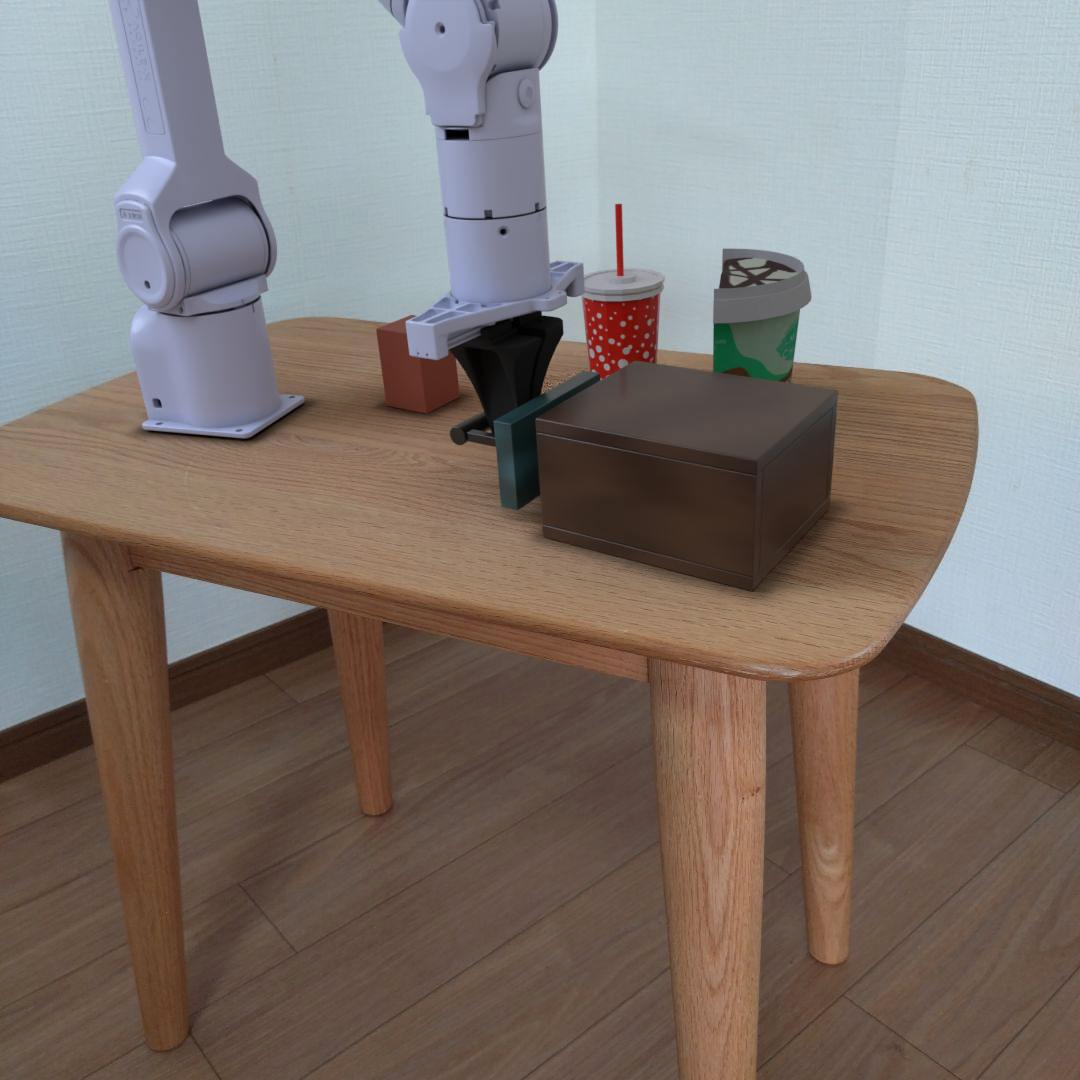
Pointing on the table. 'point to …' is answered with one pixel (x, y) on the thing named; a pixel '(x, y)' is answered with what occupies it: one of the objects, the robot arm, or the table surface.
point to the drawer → (519, 440)
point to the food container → (758, 313)
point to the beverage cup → (621, 313)
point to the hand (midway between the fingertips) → (513, 439)
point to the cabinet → (688, 469)
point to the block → (414, 372)
